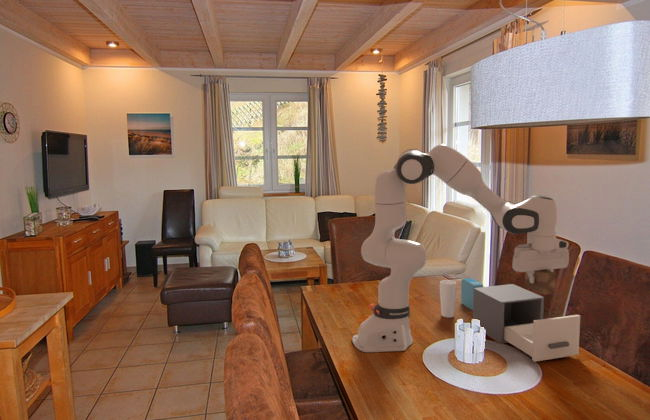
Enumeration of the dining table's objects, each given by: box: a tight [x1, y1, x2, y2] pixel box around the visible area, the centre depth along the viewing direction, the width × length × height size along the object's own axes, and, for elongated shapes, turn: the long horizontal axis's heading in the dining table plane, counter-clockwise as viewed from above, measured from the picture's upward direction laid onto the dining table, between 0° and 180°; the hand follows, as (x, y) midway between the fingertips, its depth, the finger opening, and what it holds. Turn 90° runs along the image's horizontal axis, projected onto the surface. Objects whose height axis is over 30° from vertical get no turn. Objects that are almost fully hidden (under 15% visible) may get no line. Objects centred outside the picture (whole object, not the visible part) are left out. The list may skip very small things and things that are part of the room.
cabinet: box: [472, 283, 545, 344], centre depth 176 cm, size 18×18×16 cm
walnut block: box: [524, 270, 557, 295], centre depth 157 cm, size 4×10×7 cm, turn 14°
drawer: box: [504, 314, 581, 362], centre depth 158 cm, size 17×19×14 cm
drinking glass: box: [439, 279, 457, 319], centre depth 194 cm, size 7×7×15 cm
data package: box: [460, 277, 484, 312], centre depth 204 cm, size 12×4×12 cm, turn 10°
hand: (539, 282), depth 157 cm, fingers closed on walnut block, 4 cm apart
